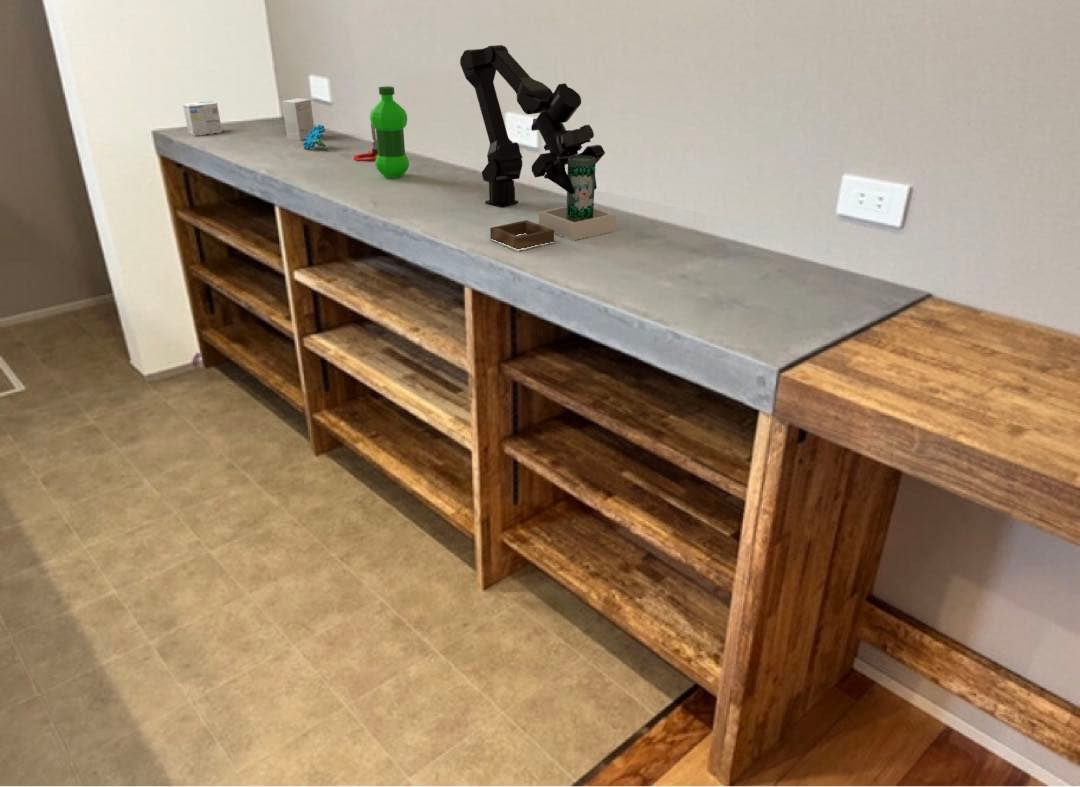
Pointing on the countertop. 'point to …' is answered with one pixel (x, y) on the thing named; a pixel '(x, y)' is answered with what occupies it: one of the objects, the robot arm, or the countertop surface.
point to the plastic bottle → (390, 135)
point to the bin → (577, 223)
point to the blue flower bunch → (314, 138)
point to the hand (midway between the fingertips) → (584, 191)
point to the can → (581, 188)
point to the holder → (533, 231)
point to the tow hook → (373, 153)
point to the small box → (298, 118)
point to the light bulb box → (202, 118)
